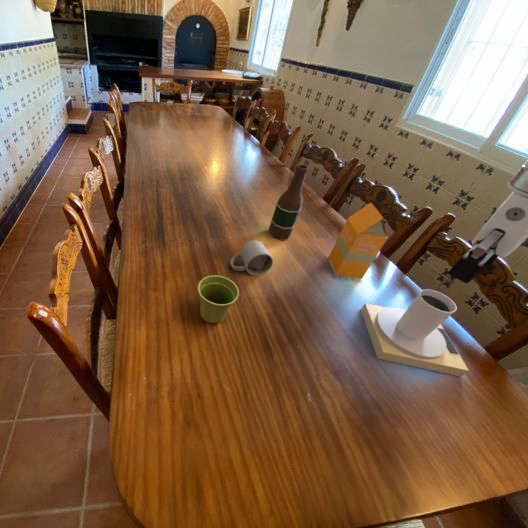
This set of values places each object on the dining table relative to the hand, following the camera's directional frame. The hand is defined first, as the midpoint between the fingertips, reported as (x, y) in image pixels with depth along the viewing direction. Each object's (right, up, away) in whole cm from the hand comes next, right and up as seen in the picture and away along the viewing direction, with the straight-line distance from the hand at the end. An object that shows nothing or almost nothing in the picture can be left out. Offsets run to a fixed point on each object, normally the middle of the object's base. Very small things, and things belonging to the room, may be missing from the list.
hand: (468, 270), depth 56 cm
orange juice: (-4, 0, +35) cm, 35 cm away
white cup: (-1, -14, +12) cm, 19 cm away
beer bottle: (-20, +12, +47) cm, 52 cm away
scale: (-1, -17, +14) cm, 22 cm away
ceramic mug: (-34, 0, +31) cm, 46 cm away
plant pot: (-46, -11, +16) cm, 51 cm away
